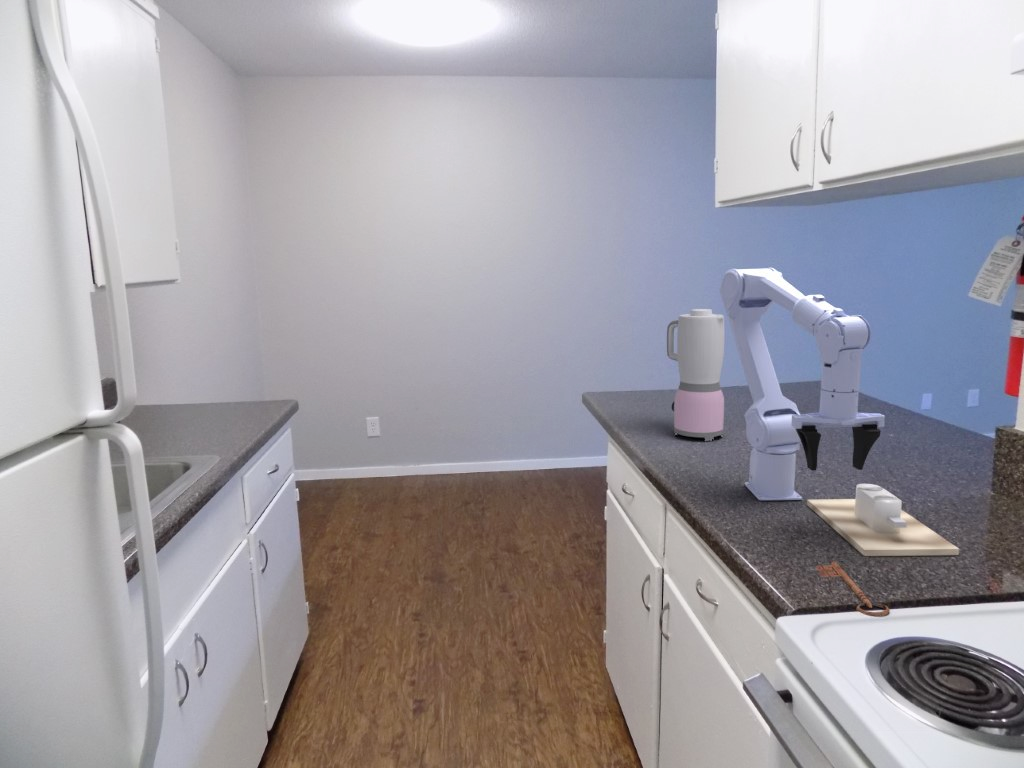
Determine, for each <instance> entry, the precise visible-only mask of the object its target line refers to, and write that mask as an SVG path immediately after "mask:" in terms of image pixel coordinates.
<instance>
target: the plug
mask: <svg viewBox="0 0 1024 768" xmlns="http://www.w3.org/2000/svg"><path fill="white" fill-rule="evenodd" d="M855 499H856V500H855V515H856V516H857V517H858V518H859V519H861V520H862V521H863V522H864V523H865V524H867V525H868V526H869V527H870V528H872V529H873V530H875V531H877V532H880V533H885V534H896V533H899V529H900V528H906V525H907V522H906V521H904V520H903V519H902V518H900V517H901V510H902V506H903V505H902V503H903V501H902V500H901V499H900V498H899V497H897V496H896V495H894V494H893V493H891V492H889V491H888V490H886V489H885V488H883V486H880V485H877V484H873V483H858V484H856V489H855Z"/></svg>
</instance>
